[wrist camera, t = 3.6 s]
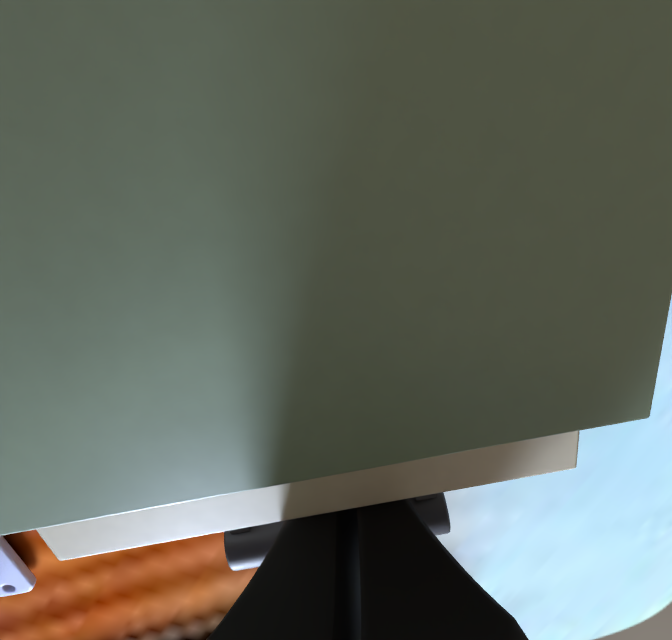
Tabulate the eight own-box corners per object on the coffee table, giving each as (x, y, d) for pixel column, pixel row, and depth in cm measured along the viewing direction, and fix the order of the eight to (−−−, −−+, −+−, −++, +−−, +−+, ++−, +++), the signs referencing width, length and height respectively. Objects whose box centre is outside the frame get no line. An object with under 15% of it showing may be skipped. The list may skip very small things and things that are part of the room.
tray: (475, 409, 18) (565, 596, 12) (190, 462, 18) (139, 669, 12) (443, -273, 9) (693, -798, 3) (-90, -154, 10) (-697, -448, 4)
